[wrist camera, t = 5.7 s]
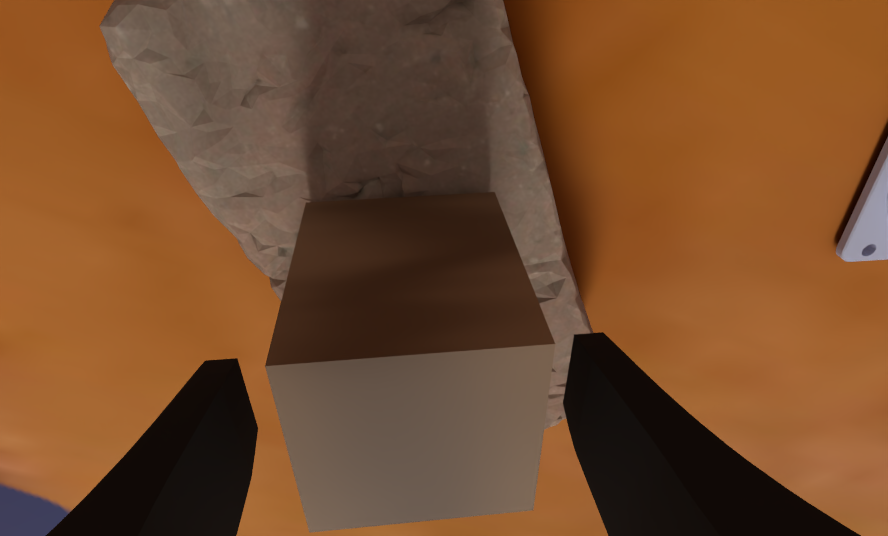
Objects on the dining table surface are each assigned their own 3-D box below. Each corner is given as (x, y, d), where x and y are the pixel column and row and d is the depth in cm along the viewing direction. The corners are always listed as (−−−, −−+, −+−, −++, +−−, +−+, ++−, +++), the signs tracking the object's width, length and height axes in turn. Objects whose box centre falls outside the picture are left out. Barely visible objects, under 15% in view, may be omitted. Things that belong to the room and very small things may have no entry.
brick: (136, -16, 14) (44, 19, 10) (440, -155, 13) (466, -177, 9) (391, 390, 23) (394, 489, 19) (581, 326, 22) (624, 417, 18)
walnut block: (494, 191, 13) (555, 343, 9) (488, 334, 16) (533, 510, 11) (306, 202, 13) (265, 366, 8) (330, 346, 15) (309, 532, 11)
